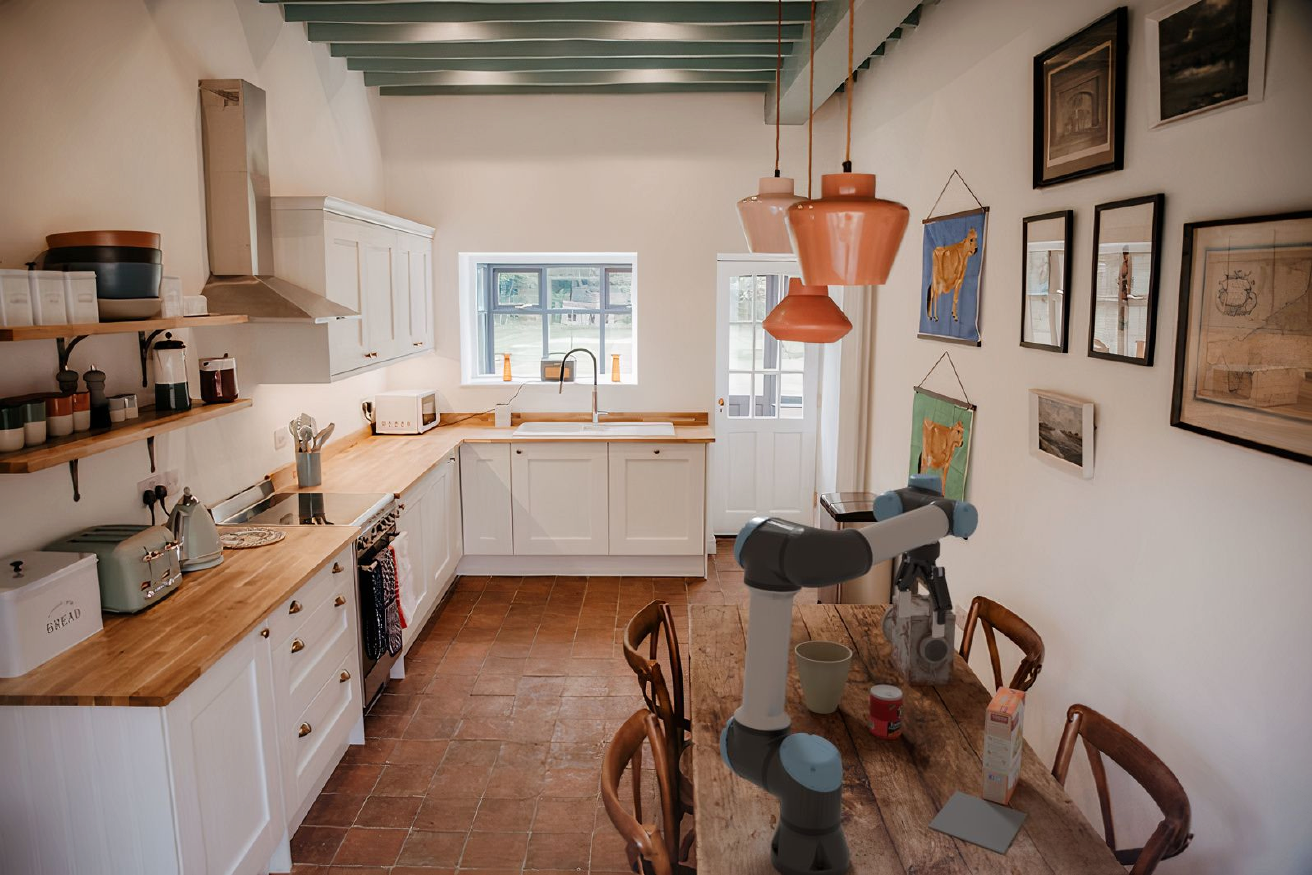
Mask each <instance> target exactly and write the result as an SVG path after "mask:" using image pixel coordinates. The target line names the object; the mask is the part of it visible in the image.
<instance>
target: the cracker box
mask: <svg viewBox="0 0 1312 875" xmlns="http://www.w3.org/2000/svg"><path fill="white" fill-rule="evenodd" d="M1026 693H1027V692H1026V691H1023V690H1020V689H1019V690H1018V689H1014V688H1008V687H1005V686H999V688H998V689H997V691H996V693H995V694H994V696H993V698H992V699H991V700H990V702H989V704H988V706H987V708H986V709H985V724H984V742H983V757H982V769H981V770H982V771H981V772H982V773H981V789H980V799H983V800H986V801H989V802H992V803H995V804H998V805H1002V806H1005V807H1007V806H1008V804H1009V802H1010V799H1011V797H1012V796H1013V793H1014V790H1015V789H1016V787H1017V785H1018V782H1019V779H1020V776H1021V763H1022V762H1021V761H1022V749H1023V734H1024V722H1025V721H1024V719H1025V708H1026V707H1025V706H1026V696H1027V695H1026Z"/></svg>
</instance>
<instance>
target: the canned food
mask: <svg viewBox="0 0 1312 875" xmlns="http://www.w3.org/2000/svg"><path fill="white" fill-rule="evenodd" d="M869 693H870V695H869V730H870V734H872V735H873V736H875V737H876V736H877V737H876V738H879V739H882V740H883V739H884V740H895V739H898V738H900V736H901V734H902V729H903V728H902V726H903V724H902V723H903V700H904V699H903V697H904V696H903V691H902V690H901V689H900V688H898V687H896V686H893V685H888V684H877V685H873V686H871V688H870V692H869Z"/></svg>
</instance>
